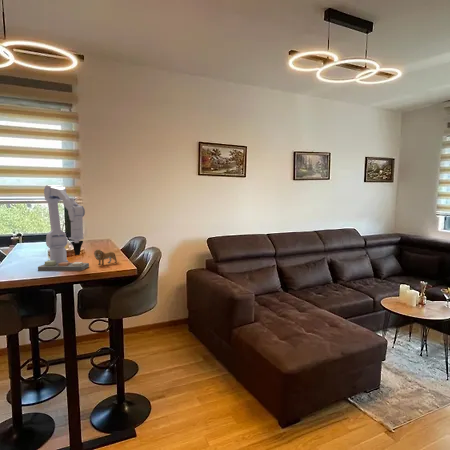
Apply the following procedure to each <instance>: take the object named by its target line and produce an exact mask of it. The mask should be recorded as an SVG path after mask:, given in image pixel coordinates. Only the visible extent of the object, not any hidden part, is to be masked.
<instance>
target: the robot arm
mask: <svg viewBox="0 0 450 450" xmlns="http://www.w3.org/2000/svg"><path fill="white" fill-rule="evenodd" d="M43 194H44V201H46V202H47V206H48V207H47V208H48V215H49V224H50V231H49V232H48V233H47V234H46V238H45V244H46V247H48V249H49V257H50V258H49V260H56V263H61V262H69V260H68V259H67V249H66V246H67V245H68V240H73V241H71V242H70V244H71V245H72V248H73V250H74V255H75V256H80V255H81V249H82V245H83V243H84V224H83V223H84V222H83V221H84V219H83V217H84V216H85V213H86V210H85V207H84V206H83V205H79V204H78V203H77V202H76V200H75V199H74V198H73V197H70V196H69V195H68V193H67V187H66V186H65V185H56V184H55V185H53V184H50V185H49V184H46V185H45V186H44V190H43ZM61 201H62V202H63V207H65V209H66V210H67V211H68V217H69V218H68V219H69V221H70V237H68V238H67V234H66V232H65V231H63V230H62V228H61V227H62V226H61V221H60V220H61V219H60V218H61V217H60V212H59V211H60V210H59V202H61Z"/></svg>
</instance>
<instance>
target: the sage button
mask: <svg viewBox="0 0 450 450" xmlns="http://www.w3.org/2000/svg"><path fill="white" fill-rule="evenodd" d="M44 264H45V266H54V265H56V260H50V259H49V260H46V261H44Z"/></svg>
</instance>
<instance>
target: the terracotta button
mask: <svg viewBox="0 0 450 450" xmlns="http://www.w3.org/2000/svg"><path fill="white" fill-rule="evenodd" d="M70 263H71V262H70V261H68V262H61V263H59V266H68V265H70Z"/></svg>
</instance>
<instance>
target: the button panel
mask: <svg viewBox="0 0 450 450" xmlns="http://www.w3.org/2000/svg"><path fill="white" fill-rule="evenodd" d="M72 263H73V262H70V265H68V266H59V263H56V265H54V266H45V263H43V264H42V265H39V266H38V267H37V271H40V272H42V271H45V272H46V271H49V272H50V271H55V272H58V271H60V272H61V271H62V272H63V271H64V272H65V271H66V272H67V271H69V272H70V271H74V272H75V271H84V270H86V269H87V268H89V267H90V264H89V262H83V265H81V266H72Z"/></svg>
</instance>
